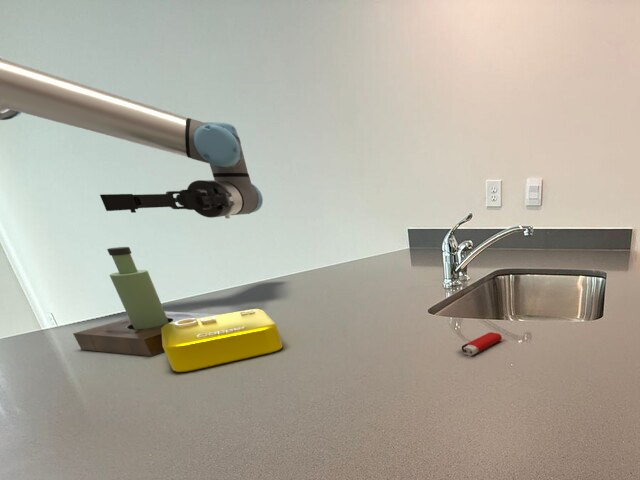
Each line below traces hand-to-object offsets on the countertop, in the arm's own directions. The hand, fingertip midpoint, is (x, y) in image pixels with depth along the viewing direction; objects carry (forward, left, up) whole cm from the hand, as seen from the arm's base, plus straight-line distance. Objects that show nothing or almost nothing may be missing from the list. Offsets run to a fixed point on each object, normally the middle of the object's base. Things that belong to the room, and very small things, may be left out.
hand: (144, 201), depth 73 cm
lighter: (+63, -2, -23) cm, 67 cm away
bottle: (+3, -9, -23) cm, 25 cm away
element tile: (+21, -11, -23) cm, 33 cm away
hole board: (+3, -9, -23) cm, 25 cm away
